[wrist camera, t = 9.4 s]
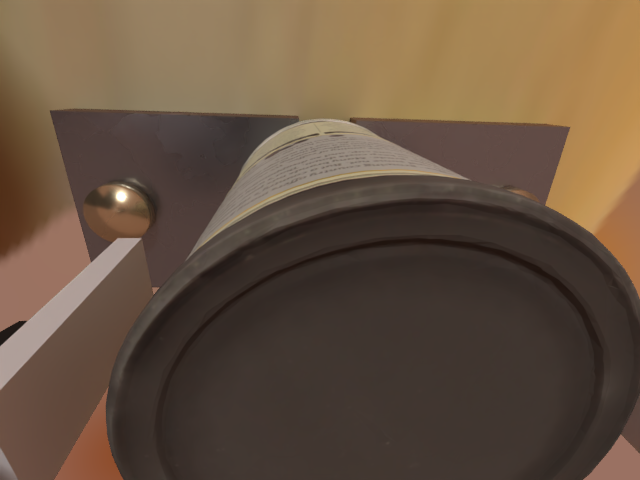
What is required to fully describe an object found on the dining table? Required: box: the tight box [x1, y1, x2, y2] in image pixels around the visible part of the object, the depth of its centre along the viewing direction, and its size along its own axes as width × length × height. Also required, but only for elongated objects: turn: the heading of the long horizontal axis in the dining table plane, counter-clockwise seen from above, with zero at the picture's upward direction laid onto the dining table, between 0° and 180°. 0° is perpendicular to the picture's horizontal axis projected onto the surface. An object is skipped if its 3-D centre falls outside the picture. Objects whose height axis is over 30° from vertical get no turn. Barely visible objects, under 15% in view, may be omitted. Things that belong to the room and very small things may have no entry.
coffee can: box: [106, 119, 640, 480], centre depth 13 cm, size 10×10×14 cm
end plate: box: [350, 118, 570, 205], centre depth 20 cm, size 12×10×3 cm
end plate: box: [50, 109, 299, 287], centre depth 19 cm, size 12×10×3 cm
